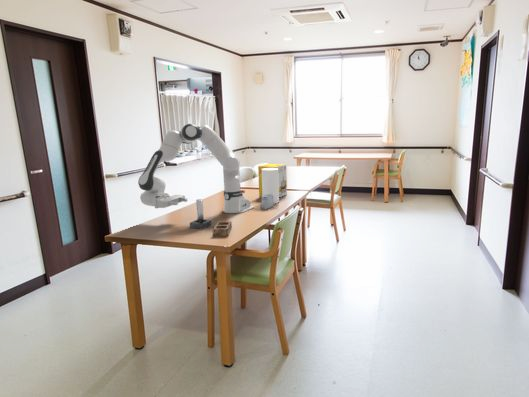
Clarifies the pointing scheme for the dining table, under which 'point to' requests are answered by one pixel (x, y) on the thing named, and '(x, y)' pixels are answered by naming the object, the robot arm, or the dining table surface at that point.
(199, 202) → the rod
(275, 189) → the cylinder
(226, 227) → the tool rack
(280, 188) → the packaging box
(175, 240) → the dining table surface
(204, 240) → the dining table surface
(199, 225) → the socket block
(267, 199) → the medicine box
